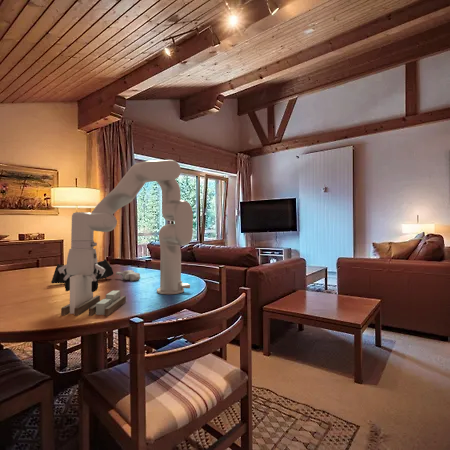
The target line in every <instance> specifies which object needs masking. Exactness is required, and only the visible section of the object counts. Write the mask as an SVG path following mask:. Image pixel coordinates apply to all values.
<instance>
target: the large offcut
mask: <svg viewBox="0 0 450 450" xmlns="http://www.w3.org/2000/svg"><path fill="white" fill-rule="evenodd" d="M105 298H106V299H111V304H112V303H114V302H115V301H116V300H118V299H119V298H121V290H111V291H110V292H108V293H106V294H105Z"/></svg>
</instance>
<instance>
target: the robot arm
mask: <svg viewBox="0 0 450 450" xmlns="http://www.w3.org/2000/svg"><path fill="white" fill-rule="evenodd" d="M181 173H182V168H181V166H180V164H179V163H178V161H176V160H173V159H165V160H146V161H141V162H138V163H135V164H133V165H132V166H131V167H130V168H129V169H128V171H127V172H126V173H125V174H124V176H123V177H122V178H121V179H120V181H119V182H118V183H117V185H116V186H115V187H114V188H113V189H112V190H111V191H110V192H108V193H107V195H106V196H105V197H103V198H102V200H100V201H99V202H98V204H97V205H96V206H95V208H94V209H93V210H92V211H91V212H83V211H81V212H78V211H77V212H76V211H75V212H73V213H72V214H71V230H70V231H71V234H70V235H71V239H70V241H71V242H70V248H69V249H68V253H67V258H66V264H63V265H64V266H62V267H60V268H58V271H59V273H60V275H61V277H62V278H63V280H65V283H64V289H65V292H70V277H71V276H74V275H82V276H90V277H91V278H92V279H93V281H92V292H93V293H95V292H97V290H98V289H99V279H100V278H101V277H102V276H103V274H104V272H105V268H103V267H101V266H99V265H98V262H99V261H98V255H97V254H98V253H97V250H96V248H94V247H97V246H98V243H97V242H95V241H94V234H95V233H94V232H101V233H108V232H111V231H113V230H114V229H115V228H116V227H117V225H118V220H117V218H116V216H114V214H115V213H116V212H117V211H118V210H120V209H121V208H123V207H125V206H127V205H129V204H130V203H132V202H133V200H134V199H135V198H136V197H137V196H138V194H139V192H140V191H141V189H142V188H143V187H144V186H145V184H146V183H150V182H156V183H157V184H158V186H160V190H161V197H162V200H161V213H162V218H163V219H164V220H165V221H167V222H168V221H169V222H174V223H167V224H165V225H162V226H161V228H160V229H159V231H158V240H159V241H158V242H159V246H160V249H159V250H160V266H159V267H160V269H159V270H160V271H159V272H160V274H159V275H160V276H159V277H160V278H159V279H160V280H159V283H160V284H159V285H160V286H159V287H158V288H157V289H156V293H157V294H161V295H177V294H178V295H179V294H182V293H184V291H185V289H191V284H190V283H184V282H183V280H182V251H181V246H187V245H189V244H190V243H191V241H192V238H193V234H194V233H193V232H194V230H193V229H194V227H193V225H194V222H193V221H194V213H193V208H192V205H191V203H189V202H188V201H187V200H183V199H182V198H181V194H182V193H181V187H180V184H179V183H178V181H177V179H178V178H179V177H180V176H181ZM64 269H66V272H67V274H66V273H65V272H64ZM98 270H99V271H100V273H99V274H98V275H97V274H96V273H97V272H98ZM100 280H101V279H100Z"/></svg>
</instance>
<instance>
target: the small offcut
mask: <svg viewBox="0 0 450 450" xmlns="http://www.w3.org/2000/svg"><path fill="white" fill-rule="evenodd" d="M109 305H111V299H105V298H103V299H100V301H99V302H98V303H96V313H95V315H97V316H99V315H101V316H102V315H103V316H105V308H107V307H108V306H109Z"/></svg>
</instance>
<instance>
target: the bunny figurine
mask: <svg viewBox="0 0 450 450" xmlns="http://www.w3.org/2000/svg"><path fill="white" fill-rule="evenodd" d="M115 275H119V276H121V277H122V279H123V280H125V281H130V282H135V281H139V280H141V274H140V273H139V272H136V271H134V270H133V269H129V270H128V269H127V270H123V272H120V271H116V273H115Z"/></svg>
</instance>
